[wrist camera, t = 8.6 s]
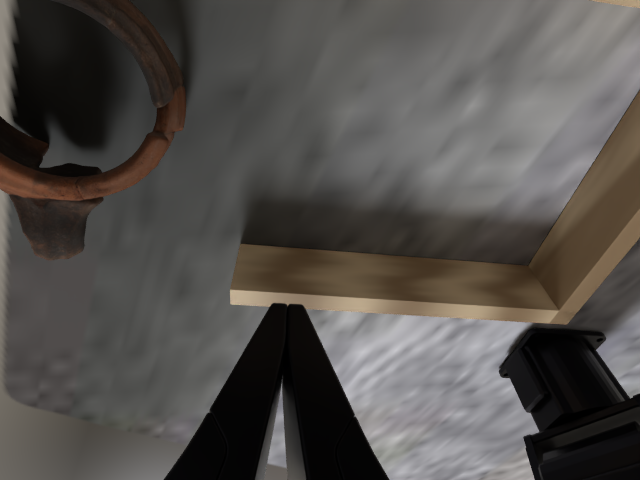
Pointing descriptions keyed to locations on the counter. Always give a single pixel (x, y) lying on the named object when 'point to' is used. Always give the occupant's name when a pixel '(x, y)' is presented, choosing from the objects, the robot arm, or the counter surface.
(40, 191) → the pottery mug
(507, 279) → the wooden frame
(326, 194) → the counter surface
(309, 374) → the robot arm
